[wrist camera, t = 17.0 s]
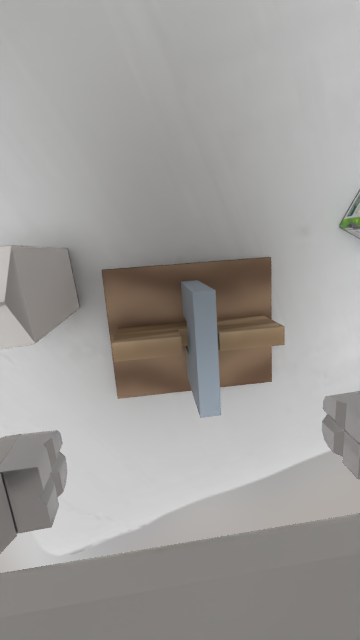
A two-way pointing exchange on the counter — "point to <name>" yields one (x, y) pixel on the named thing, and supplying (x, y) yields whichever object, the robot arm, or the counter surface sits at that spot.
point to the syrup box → (353, 218)
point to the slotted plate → (202, 346)
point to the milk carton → (34, 293)
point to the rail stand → (171, 326)
